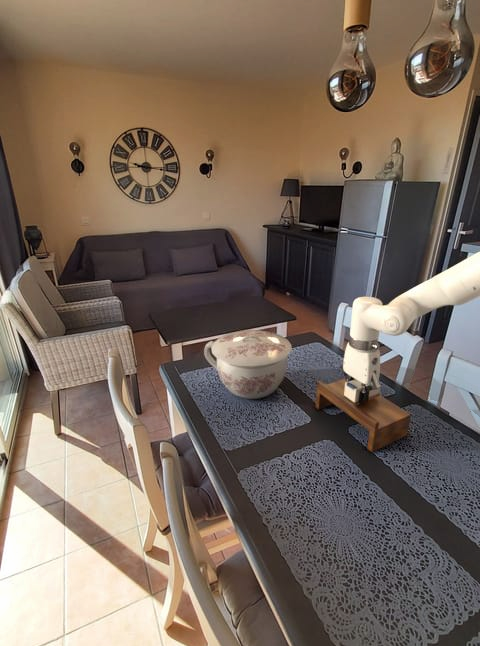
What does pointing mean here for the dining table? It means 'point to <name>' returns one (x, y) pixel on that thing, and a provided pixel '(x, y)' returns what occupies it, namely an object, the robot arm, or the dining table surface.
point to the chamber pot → (250, 361)
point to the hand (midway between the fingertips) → (356, 397)
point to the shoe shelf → (367, 414)
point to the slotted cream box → (357, 391)
